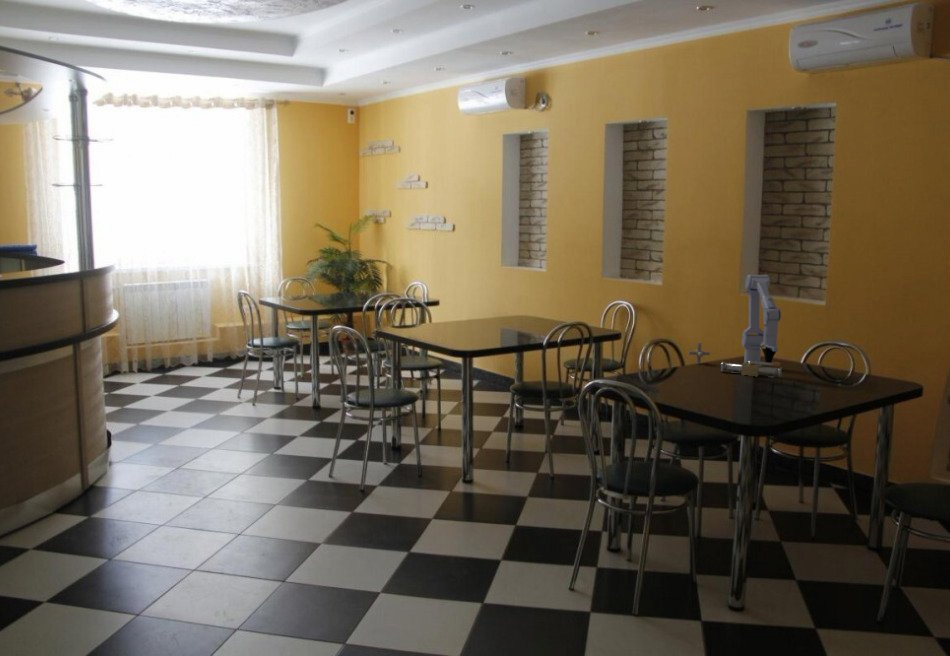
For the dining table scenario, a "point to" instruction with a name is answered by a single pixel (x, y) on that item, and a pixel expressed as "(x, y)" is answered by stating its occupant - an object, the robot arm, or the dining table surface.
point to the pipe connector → (699, 353)
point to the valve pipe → (751, 369)
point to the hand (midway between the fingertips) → (768, 364)
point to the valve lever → (764, 363)
